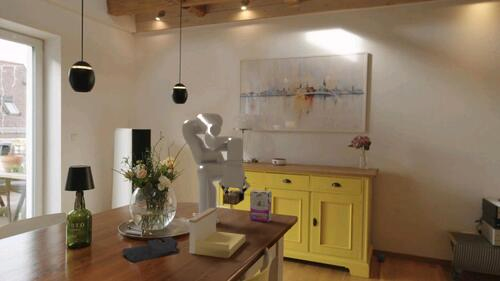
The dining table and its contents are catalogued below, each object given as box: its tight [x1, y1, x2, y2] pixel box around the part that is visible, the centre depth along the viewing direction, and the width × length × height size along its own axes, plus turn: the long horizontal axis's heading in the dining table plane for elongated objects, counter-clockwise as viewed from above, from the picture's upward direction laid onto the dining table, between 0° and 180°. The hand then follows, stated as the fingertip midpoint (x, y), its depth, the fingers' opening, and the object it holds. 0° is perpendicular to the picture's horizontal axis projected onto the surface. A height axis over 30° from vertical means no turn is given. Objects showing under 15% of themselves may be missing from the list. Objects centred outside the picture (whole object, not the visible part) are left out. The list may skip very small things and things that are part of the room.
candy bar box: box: [249, 189, 273, 223], centre depth 199 cm, size 11×5×16 cm, turn 67°
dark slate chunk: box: [121, 235, 181, 264], centre depth 148 cm, size 15×22×5 cm
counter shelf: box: [188, 207, 246, 259], centre depth 155 cm, size 17×23×14 cm
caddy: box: [222, 189, 245, 206], centre depth 172 cm, size 6×12×5 cm, turn 163°
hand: (233, 200), depth 172 cm, fingers closed on caddy, 6 cm apart
